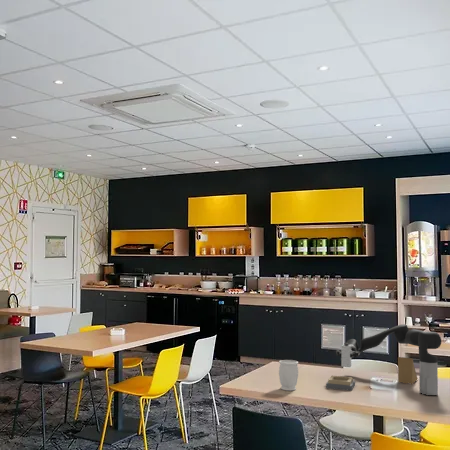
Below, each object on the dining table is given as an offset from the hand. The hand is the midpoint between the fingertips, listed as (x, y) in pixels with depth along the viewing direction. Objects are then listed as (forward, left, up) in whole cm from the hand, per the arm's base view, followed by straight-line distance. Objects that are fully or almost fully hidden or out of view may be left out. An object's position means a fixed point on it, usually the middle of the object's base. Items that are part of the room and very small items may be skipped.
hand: (345, 355), depth 311 cm
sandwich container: (+10, -41, -17) cm, 45 cm away
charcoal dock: (-7, +5, -16) cm, 18 cm away
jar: (-14, +36, -16) cm, 42 cm away
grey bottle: (+2, -1, -7) cm, 7 cm away
